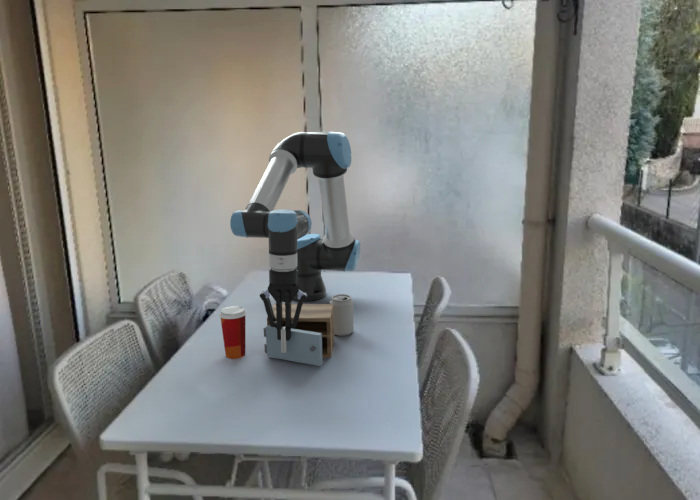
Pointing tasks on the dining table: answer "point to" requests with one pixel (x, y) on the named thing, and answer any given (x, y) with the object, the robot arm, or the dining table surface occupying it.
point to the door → (295, 346)
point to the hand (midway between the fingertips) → (284, 350)
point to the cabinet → (314, 322)
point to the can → (343, 314)
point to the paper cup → (233, 331)
